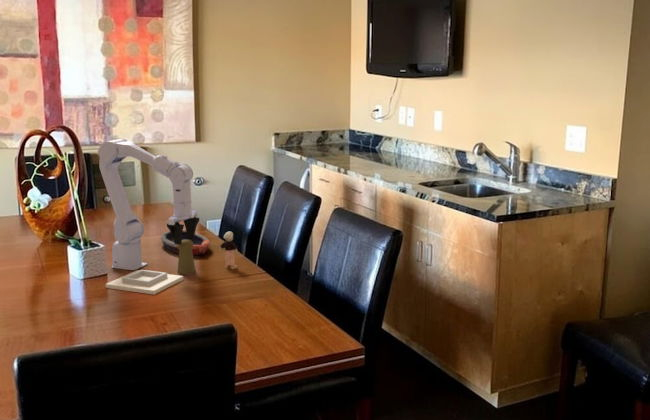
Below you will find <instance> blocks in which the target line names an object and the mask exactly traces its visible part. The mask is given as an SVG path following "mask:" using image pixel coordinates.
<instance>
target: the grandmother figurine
mask: <svg viewBox="0 0 650 420" xmlns="http://www.w3.org/2000/svg"><path fill="white" fill-rule="evenodd" d="M223 239H225V241H224V242H222V243H221V245H220V247H219V251H220V252H223V249H224V251H225V252H224V261H225V266H224V268H225V269H232V270H234V269H237V268H238V265H237V264H236V262H235V261H236V260H235V255H236V256H237V255H239V252H238V248H237V245H236V244H235V243H234V242H233V240H234V233H233V232H232V231H227V232H225V234H224V235H223Z"/></svg>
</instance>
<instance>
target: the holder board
mask: <svg viewBox="0 0 650 420" xmlns="http://www.w3.org/2000/svg"><path fill="white" fill-rule="evenodd" d="M183 280H184V276H183V275H177V274H169V273H167V272H163V271H157V270H155V271H154V270H148V269H140V270H139V269H136V270H133V272H130V273H128V274H125V275H123V276H121V277H119V278H116V279H114V280H112V281H109V282H106V283H105V288H107V289H112V290H113V289H114V290H120V291H127V292H133V293H134V292H135V293H142V294H147V295H156V294H158V293H160V292H162V291H164V290H166V289H167V288H168V289H169V288H170V287H171V286H173V285H175V284H178V283H180V282H182V281H183Z"/></svg>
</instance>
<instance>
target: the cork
mask: <svg viewBox="0 0 650 420" xmlns="http://www.w3.org/2000/svg"><path fill="white" fill-rule="evenodd" d="M192 248H193V242H192V241H191V240H187V239H185V240H182V242H181V244H180V245H178V249H179V253H178V262H177V274H180V275H190V274H195V273H196V266H195V260H194V259H195V258H194V255H193V254H192Z"/></svg>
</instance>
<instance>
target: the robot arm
mask: <svg viewBox="0 0 650 420" xmlns="http://www.w3.org/2000/svg"><path fill="white" fill-rule="evenodd" d="M97 153H98V156H99V166H98V167H99V170H100V174H101V177H102V179H103V183H104V185H105V189H106V192H107V194H108V197H109V200H110V204H111V207H112V209H113V212H114V215H115V219H114V222H113V224H112V225H113V228H114V233H113V235H114V238H115V240H116V241H114V243H113V244H112V247H111V255H112V258H111V259H112V266H111V268H113V269H119V270H120V269H121V270H130V271H137V270H139V269H141V268H143V267H144V266H147V265H148V263H147V262H143V257H142V241H141V240H142V236H143V235H144V233H145V227H144V224H143V223H142V222H141V221H140V220H139V217H138V215H137V214H135V213H134V212H133V211H132V207H131V205H130V203H129V200H128V196H127V193H126V191H125V186H124V185H123V181H122V178H121V176H120V173H119V169H118V168H119V167H120V165H121V163H122V161H123V160H125V159H126V158H128V157H129V158H130V157H131V158H133V159H135V160H137V161H141V162H143V163H144V164H147V165H150V166H151V168H152V171H153V172H155V173H157V174H159V175H162V176H164V177H165V178H168V179H169V181H170V183H171V184H172V185H171V186H172V193H173V194H172V195H173V215H172V216H171V217H169V218H167V223H166V227H167V229H168V231H170V232H171V234H172V237H173V240H174V243H175V244H178V245H180V244H181V242H182V231H184V230H183V229H184V227H185V231H186V234H187V239H194V235H195V233H196V230H197V226H198V223H199V222H200V217H198V210H192V192H191V191H192V190H191V188H192V187H191V181H192V179H193V177H194V172H193V168H191V166H189V165H188V164H185V163H184V164H180V162H178V161H174V160H171V158H169V157H168V156H167V155H166V154H162V155H161V154H160V155H157V156H156V155H154V154H153V153H151V152H149V151H147V150H145V149H143V148H142V147H140V146H138V145H137V144H134V142H133V141H130V140H128V139H125V138H118V139H113V140H105V141H103V142H101V145H100V146H99V148H98V149H97ZM181 222H183V224H181Z"/></svg>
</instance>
